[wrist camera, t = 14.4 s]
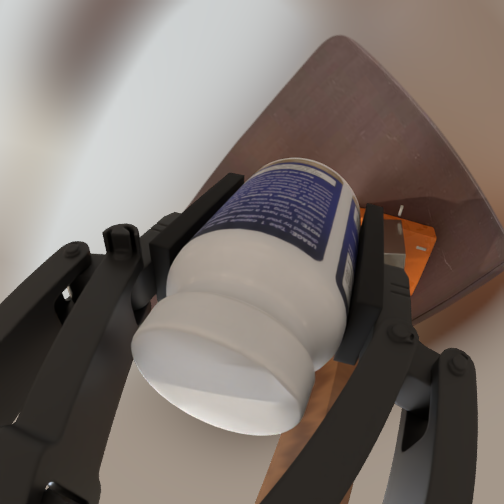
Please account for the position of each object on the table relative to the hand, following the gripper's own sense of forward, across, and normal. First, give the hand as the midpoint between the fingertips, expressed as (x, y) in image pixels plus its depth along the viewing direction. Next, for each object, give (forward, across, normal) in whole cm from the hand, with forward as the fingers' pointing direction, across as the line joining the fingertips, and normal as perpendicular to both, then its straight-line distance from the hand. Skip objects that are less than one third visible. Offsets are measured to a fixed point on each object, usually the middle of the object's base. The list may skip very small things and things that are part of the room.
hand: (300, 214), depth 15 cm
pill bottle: (0, 0, 0) cm, 0 cm away
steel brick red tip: (+24, +9, -13) cm, 29 cm away
